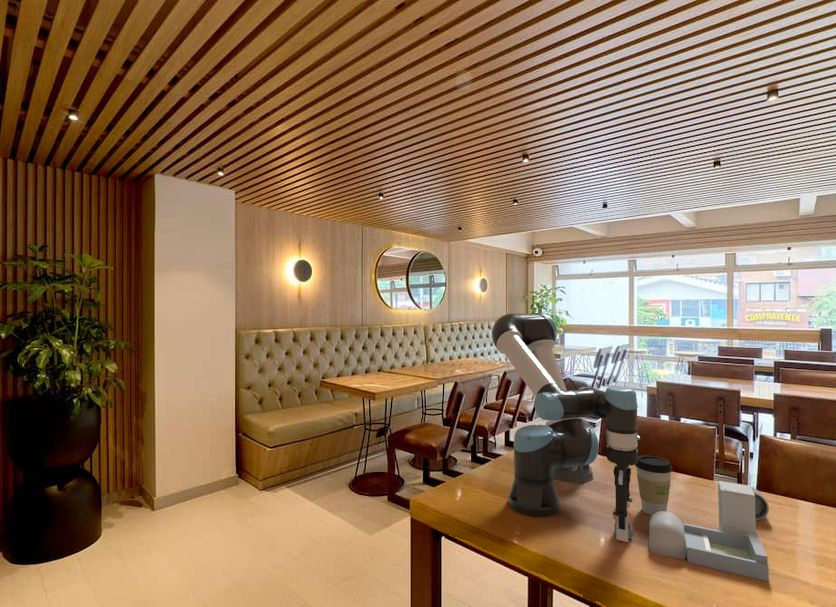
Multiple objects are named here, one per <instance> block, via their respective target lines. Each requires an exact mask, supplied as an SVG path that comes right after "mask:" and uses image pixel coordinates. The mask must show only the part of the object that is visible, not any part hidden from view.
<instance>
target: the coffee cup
mask: <svg viewBox="0 0 836 607" xmlns="http://www.w3.org/2000/svg"><path fill="white" fill-rule="evenodd" d="M634 466H635V467H636V472H637V473H636V476H637V477H636V478H637V484H638V492H639V498H640V501H641V508H642V512H643V513H646V514H647V515H650V516H652V515H653V514H654V513H656V512H659V511H666V512H668V503H669V499H670V498H669V496H670V487H671V486H670V485H671V473H672V472H673V466H672V465H671V463H670V461H669V460H668V459H666V458H663V457H661V456H655V455H644V454H643V455H638V463H637V464H635V465H634Z"/></svg>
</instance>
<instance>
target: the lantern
mask: <svg viewBox="0 0 836 607" xmlns="http://www.w3.org/2000/svg"><path fill="white" fill-rule="evenodd" d="M567 380H568V381H569V382H570V383H571V384H572V386H574V388H575V390H578V389H580V387H578V386H577V385H576V384H575V382H574V381H573V380H572V379H571V378H570V377H566V378H564V379H563V381H564V383H565V382H566V381H567ZM582 421H583V423H584V426H588V427H590V428H591V429H592V430H594V427H593V424H591V423H590V422H589V421H587V420H586V419H583V418H582ZM548 422H549V420H547V421H546V422H545V424H544V425H545V426H547V424H548ZM592 469H593V468H592V466H590V464H588V465H583V466H581V467H578V466H575V467H568V468H561V469H554V480H556V481H557V480H558V481H561V482H565V483H569V484H570V483H571V484H572V483H573V484H575V483H576V484H577V483H578V484H579V483H580V484H582V483H587V482H590V481H593V480H594V479H595V478H594V472H593V471H592Z"/></svg>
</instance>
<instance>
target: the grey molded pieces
mask: <svg viewBox="0 0 836 607" xmlns="http://www.w3.org/2000/svg"><path fill="white" fill-rule="evenodd" d="M650 516H651V517H650V519H649V524H648V525H649V526H648V528H649V529H648V546H649V547H648V548H649V550H650V553H655V554H659V555H663V556H668V557H671V558H676V559H679V560H685V559H686V560H687V561H686V562H687V563H690V564H694V565H698V566H702V567H707V568H710V569H715V570H719V571H723V572H726V573H732V574H735V575H740V576H744V577H748V578H751V579H756V580H761V581H765V582H770V580H769V577H770V576H769V564H768V563H769V562H768V555H767V553H766V551H765V548H764V545H763V543H762V542H761V539H760V537H759V535H758V533H757V532H756V533H752V532H747V536H743V535H738V534H734V533H729V532H724V531H720V529H713V528H709V527H703V526H700V525H699V526H698V525H694V524H689V523H683V522H682V521H681V519H680V518H679V516H676V514H674V513H672V512H670V511H667V512H666V511H659V512H656V513H654V514H653V515H650ZM632 525H633V523H632V524H631V525H629V526H628V540H629V539H630V540H632V538H633V526H632ZM614 536H616V521H615V522H614Z"/></svg>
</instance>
